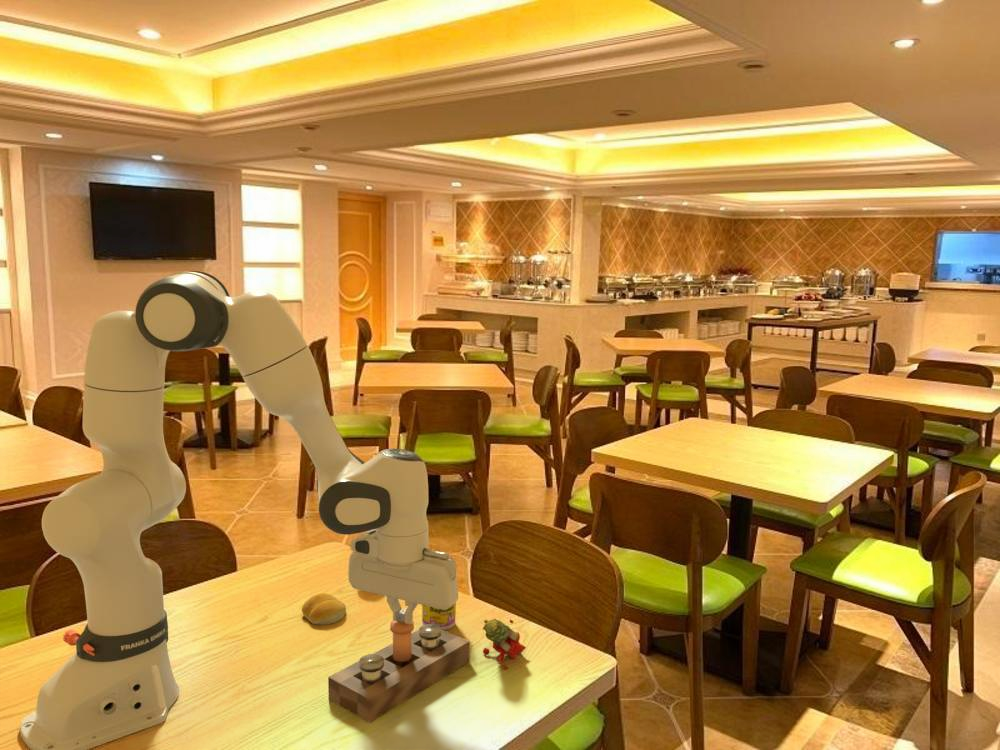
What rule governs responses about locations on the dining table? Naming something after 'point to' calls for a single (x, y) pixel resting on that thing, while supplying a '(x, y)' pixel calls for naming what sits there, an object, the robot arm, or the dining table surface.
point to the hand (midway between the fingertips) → (402, 621)
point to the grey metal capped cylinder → (371, 668)
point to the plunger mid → (402, 640)
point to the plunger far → (430, 636)
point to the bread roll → (323, 609)
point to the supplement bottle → (439, 616)
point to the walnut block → (397, 676)
